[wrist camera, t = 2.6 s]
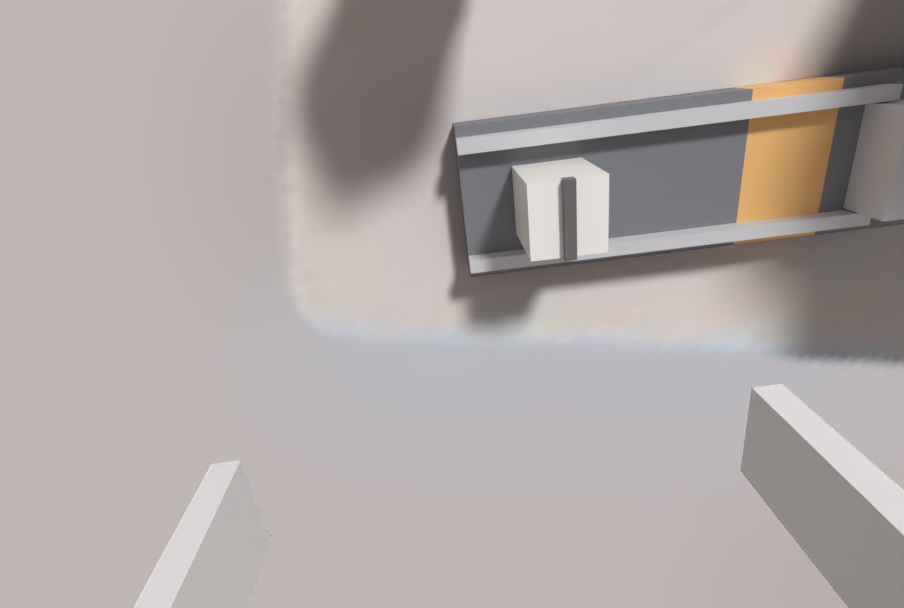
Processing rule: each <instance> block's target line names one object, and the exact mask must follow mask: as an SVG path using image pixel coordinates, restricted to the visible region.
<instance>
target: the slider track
mask: <svg viewBox="0 0 904 608" xmlns="http://www.w3.org/2000/svg"><path fill="white" fill-rule="evenodd" d="M453 127H454V136H455V145H456V154H457V163H458V173H459V182H460V191H461V200H462V209H463V218H464V228H465V237H466V246H467V255H468V264H469V270H470V275H471V277H472V276H481V275H489V274H497V273H505V272H513V271H521V270H530V269H538V268H546V267H554V266H562V265H571V264H579V263H587V262H595V261H603V260H611V259H620V258H628V257H636V256H644V255H652V254H660V253H669V252H677V251H685V250H693V249H701V248H710V247H718V246H726V245H734V244H742V243H750V242H759V241H767V240H775V239H783V238H791V237H800V236H808V235H816V234H824V233H832V232H840V231H849V230H857V229H865V228H873V227H881V226H889V225H898V224H903V222H904V66H900V67H893V68H885V69H877V70H869V71H861V72H853V73H845V74H837V75H829V76H822V77H814V78H806V79H798V80H790V81H782V82H774V83H766V84H758V85H751V86H743V87H735V88H727V89H719V90H711V91H703V92H695V93H687V94H680V95H672V96H664V97H656V98H648V99H640V100H632V101H624V102H617V103H609V104H601V105H593V106H585V107H577V108H569V109H561V110H553V111H546V112H538V113H530V114H522V115H514V116H506V117H498V118H490V119H482V120H475V121H467V122H459V123H453ZM580 157H582V158H583V159H585V160H587V161H588V162H590V163H592V164H594V165H595V166H597V167H599V168H600V169H602V170H604V171H605V172H607V173H609V233H608V252H606V253H598V254H590V255H581V256H577V260H572V261H565V260H564V258H557V259H549V260H541V261H532V262H531V261H530V259H529V257H528V255H527V253H526V251H525V249H524V248H523V246H522V244H521V242H520V240H519V238H518V236H517V234H516V225H515V209H514V194H513V179H512V166H517V165H525V164H533V163H541V162H548V161H556V160H564V159H572V158H580Z"/></svg>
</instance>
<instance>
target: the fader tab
mask: <svg viewBox="0 0 904 608" xmlns="http://www.w3.org/2000/svg"><path fill="white" fill-rule="evenodd" d="M512 179H513V194H514V209H515V225H516V234H517V236H518V238H519V240H520V242H521V244H522V246H523V248H524V249H525V251H526V253H527V255H528V257H529V259H530V261H531V262H532V261H541V260H549V259H557V258H564V260H565V261H572V260H577V256H581V255H590V254H598V253H606V252H608V233H609V173H607V172H605V171H604V170H602V169H600V168H599V167H597V166H595V165H594V164H592V163H590V162H588V161H587V160H585V159H583V158H582V157H580V158H572V159H564V160H556V161H548V162H541V163H533V164H525V165H517V166H512Z"/></svg>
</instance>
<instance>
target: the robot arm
mask: <svg viewBox="0 0 904 608" xmlns="http://www.w3.org/2000/svg"><path fill="white" fill-rule="evenodd" d="M741 472H742V473H743V474H744V475H745V477H746V478H747V479H748V480H749V482H750V483H751V484H752V486H753V487H754V488H755V490H756V491H757V492H758V493H759V495H760V496H761V497H762V498H763V500H764V501H765V502H766V503H767V505H768V506H769V507H770V508H771V510H772V511H773V512H774V514H775V515H776V516H777V517H778V519H779V520H780V521H781V523H782V524H783V525H784V526H785V527H786V529H787V530H788V531H789V533H790V534H791V535H792V536H793V538H794V539H795V540H796V541H797V543H798V544H799V545H800V547H801V548H802V549H803V550H804V552H805V553H806V554H807V556H808V557H809V558H810V559H811V561H812V562H813V563H814V564H815V566H816V567H817V568H818V569H819V571H820V572H821V573H822V574H823V576H824V577H825V578H826V580H827V581H828V582H829V583H830V585H831V586H832V587H833V589H834V590H835V591H836V592H837V594H838V595H839V596H840V597H841V599H842V600H843V601H844V603H845V604H846V605H847V606H848V608H904V490H903V489H902V488H901V487H899V486H898V485H897V484H896V483H895V482H894V481H893V480H892V479H890V478H889V477H888V476H887V475H886V474H885V473H883V472H882V471H881V470H880V469H879V468H878V467H876V466H875V465H874V464H873V463H872V462H871V461H870V460H869V459H868V458H866V457H865V456H864V455H863V454H862V453H861V452H860V451H858V450H857V449H856V448H855V447H854V446H853V445H852V444H850V443H849V442H848V441H847V440H846V439H845V438H844V437H842V436H841V435H840V434H839V433H838V432H837V431H836V430H835V429H833V428H832V427H831V426H830V425H829V424H828V423H826V422H825V421H824V420H823V419H822V418H821V417H820V416H819V415H817V414H816V413H815V412H814V411H813V410H812V409H811V408H809V407H808V406H807V405H806V404H805V403H804V402H803V401H802V400H800V399H799V398H798V397H797V396H796V395H794V393H792V392H791V391H790V390H789V389H788V388H787V387H786V386H784V385H783V384H775V385H768V386H761V387H754V388H752V391H751V399H750V405H749V413H748V420H747V427H746V435H745V442H744V450H743V457H742V464H741ZM270 539H271V534H270V531H269V529H268V526H267V524H266V521H265V519H264V516H263V514H262V511H261V509H260V506H259V504H258V502H257V499H256V497H255V494H254V492H253V489H252V487H251V484H250V482H249V480H248V477H247V475H246V472H245V469H244V467H243V465H242V462H241V460H238V461H231V462H224V463H217V464H211V466H210V468H209V470H208V472H207V473H206V475H205V477H204V479H203V481H202V482H201V484H200V486H199V488H198V490H197V492H196V494H195V495H194V497H193V499H192V501H191V503H190V504H189V506H188V508H187V510H186V512H185V514H184V515H183V517H182V519H181V521H180V523H179V525H178V527H177V529H176V530H175V532H174V534H173V536H172V538H171V539H170V541H169V543H168V545H167V547H166V549H165V550H164V552H163V554H162V556H161V558H160V560H159V561H158V563H157V565H156V567H155V569H154V571H153V573H152V574H151V576H150V578H149V580H148V582H147V584H146V585H145V587H144V589H143V591H142V593H141V595H140V596H139V598H138V600H137V602H136V604H135V606H134V607H133V608H248V605H249V602H250V599H251V596H252V593H253V590H254V587H255V584H256V581H257V578H258V575H259V572H260V569H261V566H262V563H263V560H264V557H265V554H266V551H267V548H268V545H269V542H270Z"/></svg>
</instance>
